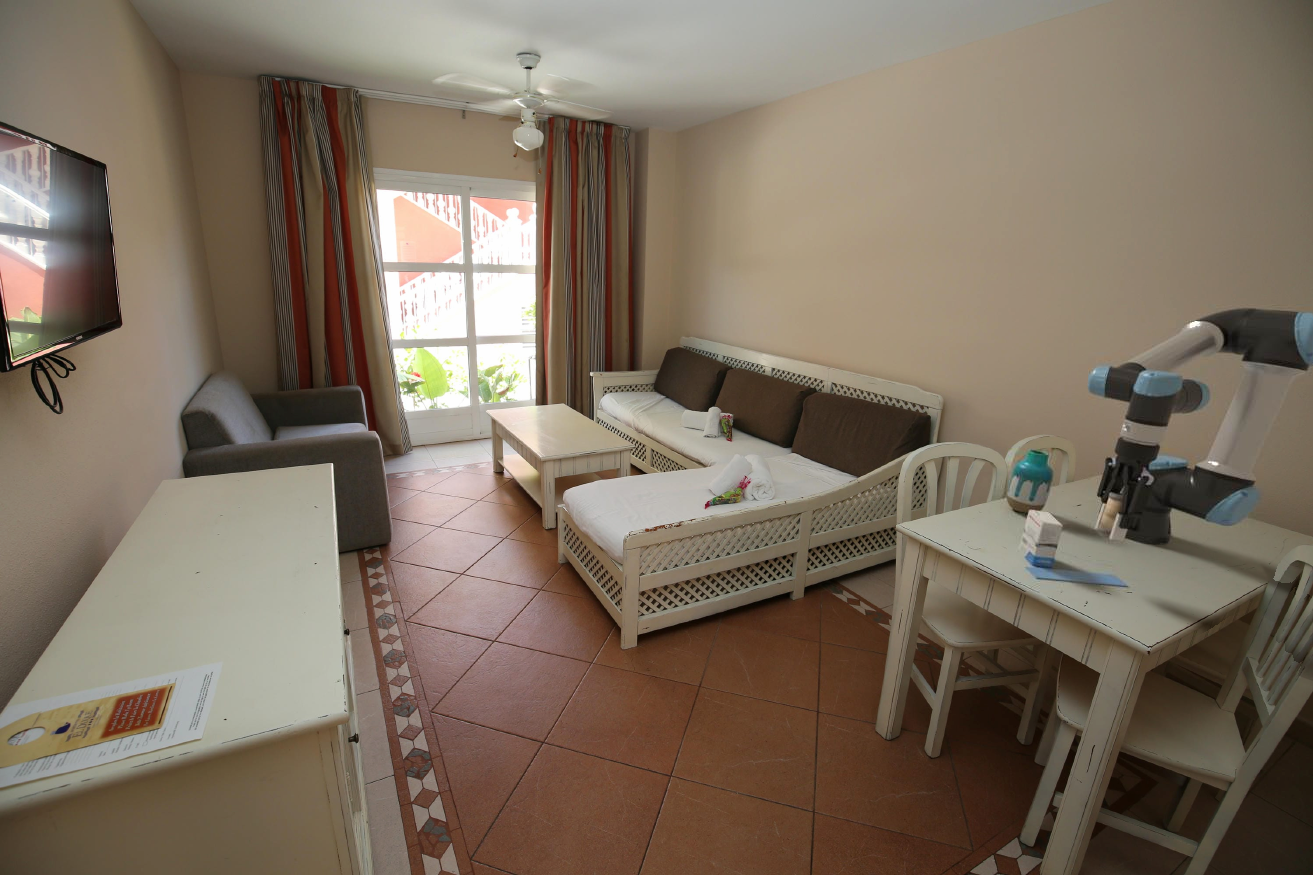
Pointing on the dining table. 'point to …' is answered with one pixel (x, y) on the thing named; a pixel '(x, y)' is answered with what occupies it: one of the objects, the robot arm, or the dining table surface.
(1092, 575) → the tape line
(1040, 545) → the ink box
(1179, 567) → the dining table surface
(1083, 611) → the dining table surface
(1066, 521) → the dining table surface
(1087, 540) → the dining table surface
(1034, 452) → the vase
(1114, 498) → the tan cylindrical piece
